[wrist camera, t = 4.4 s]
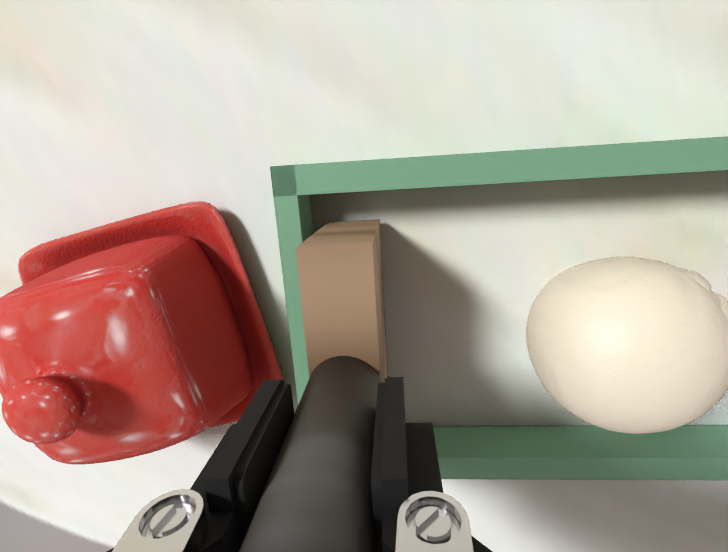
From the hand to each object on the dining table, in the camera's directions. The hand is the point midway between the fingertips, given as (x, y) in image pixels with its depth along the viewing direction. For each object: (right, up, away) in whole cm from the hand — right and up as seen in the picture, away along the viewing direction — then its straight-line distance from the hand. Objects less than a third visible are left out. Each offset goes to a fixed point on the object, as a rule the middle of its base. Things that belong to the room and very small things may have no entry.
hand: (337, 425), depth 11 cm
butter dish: (-10, +2, +10) cm, 14 cm away
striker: (+1, +2, +8) cm, 9 cm away
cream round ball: (+12, +3, +8) cm, 14 cm away
